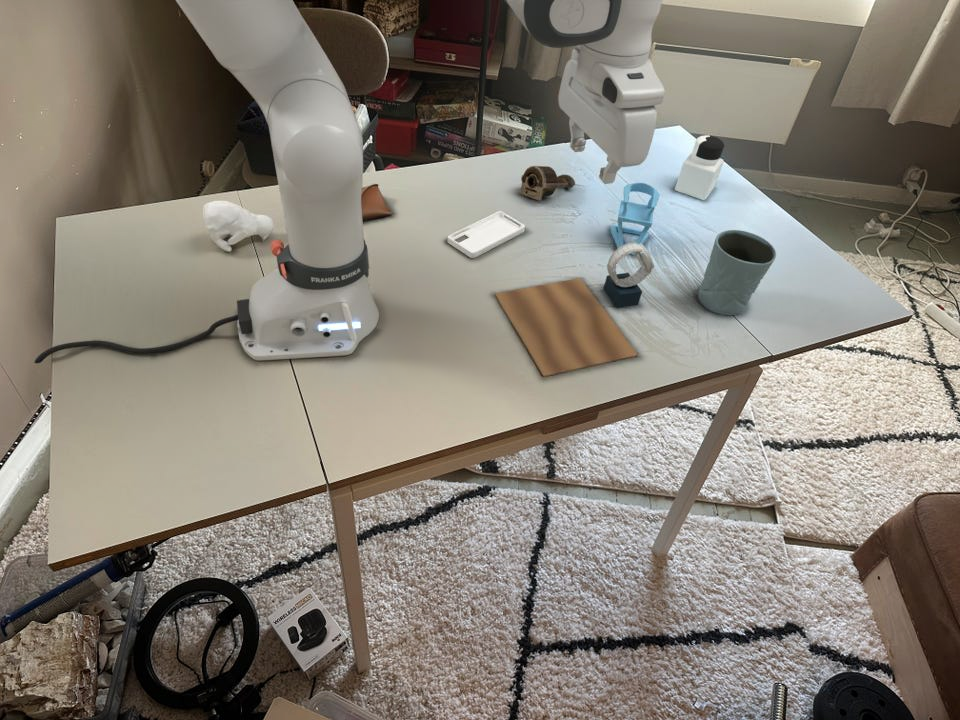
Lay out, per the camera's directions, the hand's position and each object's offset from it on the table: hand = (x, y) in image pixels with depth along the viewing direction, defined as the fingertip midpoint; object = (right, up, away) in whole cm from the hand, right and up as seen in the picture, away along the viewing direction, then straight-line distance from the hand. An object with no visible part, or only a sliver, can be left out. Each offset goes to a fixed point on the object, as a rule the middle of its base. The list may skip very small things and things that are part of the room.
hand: (590, 165), depth 93 cm
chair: (+14, -5, +35) cm, 38 cm away
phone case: (-15, -4, +33) cm, 37 cm away
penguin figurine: (-60, -6, +27) cm, 66 cm away
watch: (+9, -17, +23) cm, 30 cm away
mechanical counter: (-1, +8, +47) cm, 47 cm away
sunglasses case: (-43, 0, +35) cm, 56 cm away
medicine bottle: (+33, +10, +53) cm, 63 cm away
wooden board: (-2, -22, +16) cm, 28 cm away
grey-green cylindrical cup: (+28, -18, +24) cm, 41 cm away
